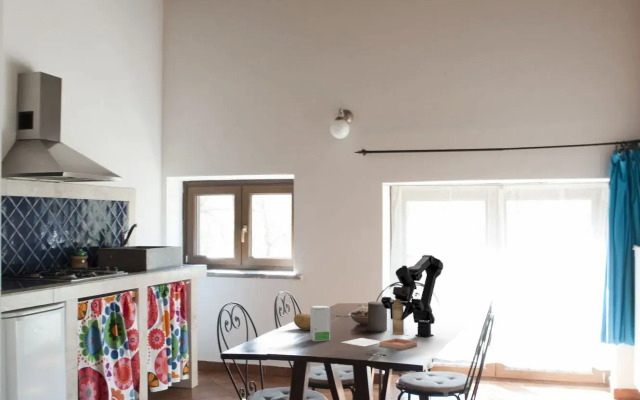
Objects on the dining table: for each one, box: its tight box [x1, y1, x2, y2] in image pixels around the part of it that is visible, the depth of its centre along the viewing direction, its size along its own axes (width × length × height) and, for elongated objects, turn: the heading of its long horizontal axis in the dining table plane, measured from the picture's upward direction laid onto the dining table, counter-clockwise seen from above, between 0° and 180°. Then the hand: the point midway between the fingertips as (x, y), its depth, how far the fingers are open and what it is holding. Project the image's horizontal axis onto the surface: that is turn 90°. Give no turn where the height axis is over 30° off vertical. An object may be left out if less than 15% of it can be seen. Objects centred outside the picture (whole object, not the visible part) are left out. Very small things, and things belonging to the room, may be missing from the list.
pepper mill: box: [391, 298, 405, 336], centre depth 283 cm, size 5×5×15 cm
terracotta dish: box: [379, 337, 418, 351], centre depth 283 cm, size 12×12×2 cm
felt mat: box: [341, 337, 382, 348], centre depth 292 cm, size 14×14×1 cm
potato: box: [293, 313, 311, 331], centre depth 327 cm, size 10×14×8 cm
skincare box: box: [309, 305, 331, 342], centre depth 300 cm, size 8×7×16 cm
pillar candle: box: [367, 301, 388, 333], centre depth 325 cm, size 10×10×15 cm
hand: (396, 319), depth 282 cm, fingers closed on pepper mill, 5 cm apart
